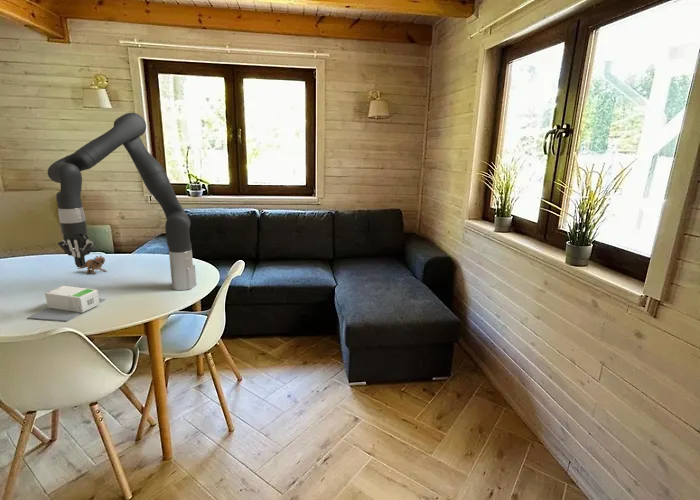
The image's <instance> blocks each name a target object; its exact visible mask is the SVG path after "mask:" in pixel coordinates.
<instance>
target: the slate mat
mask: <svg viewBox="0 0 700 500" xmlns="http://www.w3.org/2000/svg"><path fill="white" fill-rule="evenodd" d="M104 301H106V298H100V297H99V303H100V304H102V303H103V302H104ZM81 314H83V313H82V312H75V311H68V310H61V309H54V308H48V307H45V308H43V309H41V310H40V311H37V312H35V313H34V314H32V315H28V316H27V317H26V319H27V320H38V321H40V320H41V321H54V322H64V323H65V322H69V321H71V320H73V319H74V318H77V316H80V315H81Z"/></svg>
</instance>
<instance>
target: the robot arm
mask: <svg viewBox="0 0 700 500" xmlns="http://www.w3.org/2000/svg"><path fill="white" fill-rule="evenodd" d="M146 130H147V124H146V120H145V119H144V117H142V116H141V115H140V114H138V113H135V112H127V113H124V114H122V115H120V116H119V117H117V118H116V119H115V120H114V122H113V127H112V128H111V129H109V130H108V131H106V132H104V133H102V134H101V135H100V136H97V137H95V138H93V139H92V140H90V141H89V142H87V143H85V144H84V145H82V146H81V147H80V148H78V149H77V150H75V151H74V152H73V153H71V154H68V155H66V156H64V157H62V158H60V159H58V160H56V161H54V162H53V163H51V164H50V166H49V167H48V168H47V176H48V178H49V180H51V181H53V182H54V183H56V184H57V183H58V184H60V191H58V192H56V195H55V198H56V203H57V204H56V205H57V209H58V219H59V225H60V231H61V234H62V235H63V237H62V238H63V239H62V240H61V241H58V243H57V245H58V246H59V247H60V248H61V249H62V251H64V253H66V254H67V256H69V257H70V256H71V257H72V258H73V259H74V264H75V266H76V268H79V267H83V266H85V264H86V256H89V255H90V253H91V252H92V250H93V249H94V247H95V245H96V242H95V241H91V240H90V239H89V238H90V237H89V236H88V227H87V222H86V215H85V211H84V207H83V202H82V201H83V200H82V197H81V193H82V185H83V175H82V171H86V170H90V169H92V168H93V167H95V166H96V165H97V164H99V163H100V162H101V161H103V160H104V159H106V158H107V157H108V156H109V155H110V154H111V153H113V152H114V151H116V150H117V149H118V148H120V147H121V146H122V145H123V147H124V148H125V150H126V152H127V153H128V154H129V157H130V158H131V160H132V162H133V164H134V165H135V168H136V169H137V172H138V173H139V175H140V178H141V180H142V182H143V184H144V185H145V187H146V188H147V190H148V192H149V193H150V194H151V196H152V197H154V199H155V200H156V201H157V203H158V204H159V205H160V207H161V209H162V211H163V213H164V216H165V218H166V221H165V224H164V226H165V229H164V230H165V236H166V245H167V248H168V254H169V255H168V256H169V267H170V275H171V276H170V279H171V286H172V287H171V289H173V290H175V291H185V290H186V291H187V290H192V289H193V288H194V287H196V286H197V276H196V275H197V274H196V265H194V263H193V260H194V259H193V248H192V247H193V246H192V241H191V236H190V235H191V234H190V227H191V219H190V218H189V216H188V214H187V213H186V211H185V210H184V208H183V207H182V205H181V203H180V202H179V199H178V198H177V195H176V193H175V190H174V188H173V186H172V183H171V182H170V179H169V177H168V175H167V173H166V171H165V169H164V167H163V165H161V163H160V162H159V160H157V159H156V158H155V157H154V156H153V155H152V154H151V153H150V152H149V151H148V149H147V148H146V146H145V145H144V143H143V140H142V138H141V136H143V135H144V134H145V133H146Z"/></svg>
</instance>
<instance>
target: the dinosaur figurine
mask: <svg viewBox="0 0 700 500" xmlns="http://www.w3.org/2000/svg"><path fill="white" fill-rule="evenodd" d="M105 262H106V259H105V257H104V256H102V255H100V256H98V255H95V257H93V259H87V260H85V263H86V264H85V266H83V267H77V270H79V269H80V270H81V269H85V268H86V269H87V270H86V272H87V273H86V275H90V274H91V275H94V276H95V275H97V273H96V272H95V271H98V270H99V271H102V272H105V273H107V272H108V270H106V269H103V268H102V267H103V264H104V263H105ZM91 272H92V273H91Z"/></svg>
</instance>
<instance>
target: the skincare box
mask: <svg viewBox="0 0 700 500" xmlns="http://www.w3.org/2000/svg"><path fill="white" fill-rule="evenodd" d="M45 298H46V299H45V300H46V303H47V308H54V309H61V310H68V311H75V312H82V313H81V314H83V313H85V312H87V311H88V310H91V309H93V308H95V307H97V306H99V305H100V304H101V303H99V298H100V297H99V292H98V289H94V288H85V287H84V288H83V287H77V286H68V285H62V286H59V287H57V288H54V289H52V290H49V291H47V292H45Z"/></svg>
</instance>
